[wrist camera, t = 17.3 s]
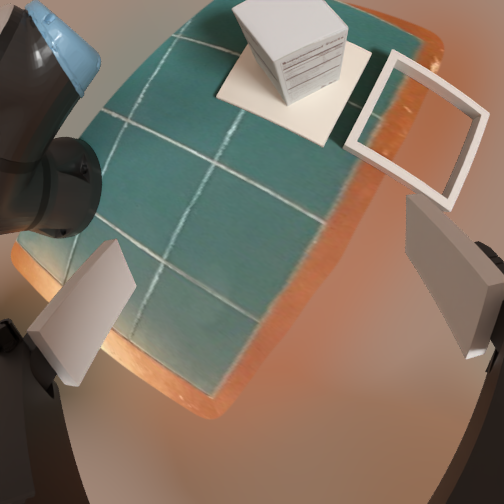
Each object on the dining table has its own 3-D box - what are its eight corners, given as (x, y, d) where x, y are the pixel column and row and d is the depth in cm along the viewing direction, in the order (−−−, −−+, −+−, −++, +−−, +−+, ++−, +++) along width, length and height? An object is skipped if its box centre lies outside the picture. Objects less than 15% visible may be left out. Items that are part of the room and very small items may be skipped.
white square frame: (342, 148, 34) (344, 144, 31) (388, 57, 31) (392, 49, 28) (442, 211, 32) (450, 211, 30) (480, 118, 29) (489, 113, 27)
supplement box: (255, 62, 33) (227, 6, 21) (308, 36, 31) (301, -27, 19) (286, 109, 33) (271, 62, 21) (341, 81, 32) (351, 26, 19)
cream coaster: (217, 98, 35) (215, 96, 35) (270, 14, 32) (269, 11, 32) (322, 147, 34) (323, 146, 33) (371, 55, 31) (372, 53, 30)
